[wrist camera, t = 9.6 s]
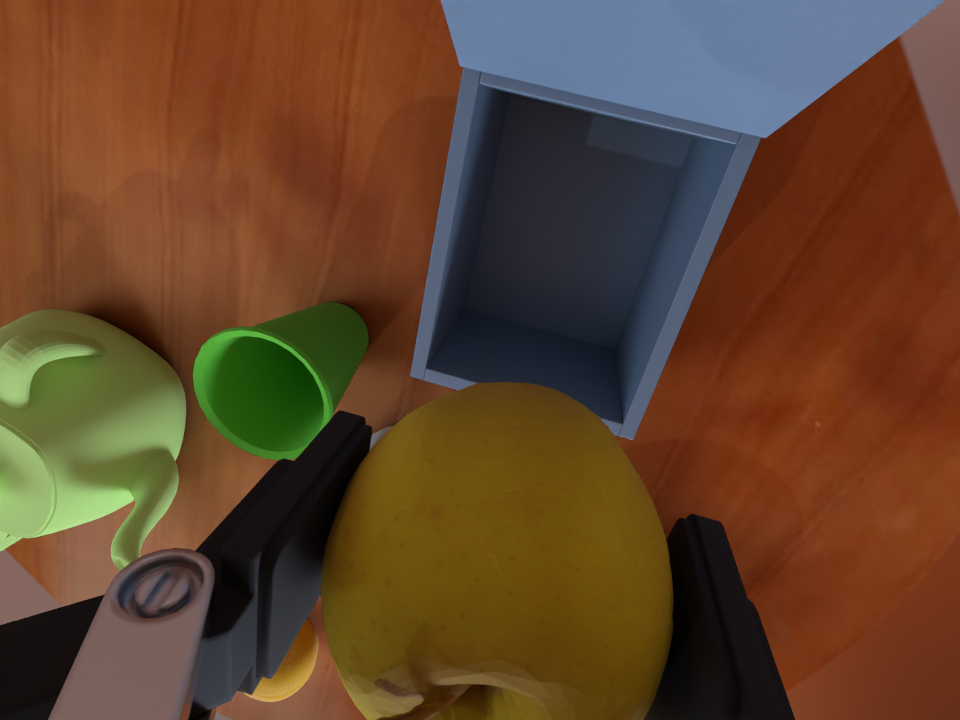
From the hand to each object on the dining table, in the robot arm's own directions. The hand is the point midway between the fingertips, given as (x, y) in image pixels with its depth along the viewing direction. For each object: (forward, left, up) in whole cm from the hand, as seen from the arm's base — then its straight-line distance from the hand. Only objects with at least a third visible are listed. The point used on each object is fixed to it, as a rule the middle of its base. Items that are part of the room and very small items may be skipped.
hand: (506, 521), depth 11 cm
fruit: (+47, -17, -27) cm, 57 cm away
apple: (0, 0, -3) cm, 3 cm away
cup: (+11, -15, -27) cm, 33 cm away
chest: (-1, 0, -27) cm, 27 cm away
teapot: (+24, -34, -27) cm, 50 cm away
